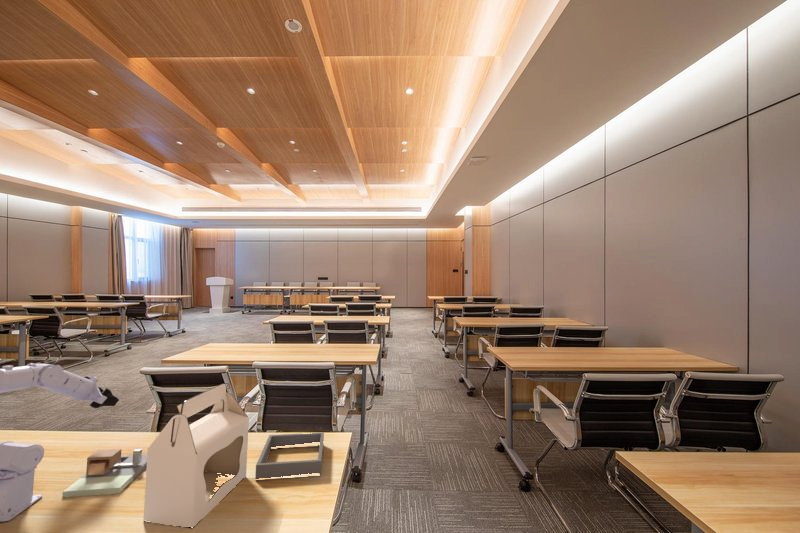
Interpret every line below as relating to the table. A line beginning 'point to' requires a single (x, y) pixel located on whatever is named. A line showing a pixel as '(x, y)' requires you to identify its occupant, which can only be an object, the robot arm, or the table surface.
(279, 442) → the tray
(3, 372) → the robot arm
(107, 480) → the track
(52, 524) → the table surface
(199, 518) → the gable box
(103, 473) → the sled
